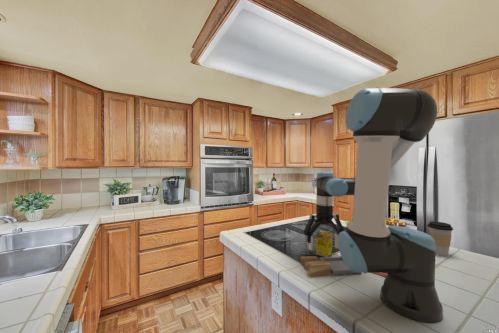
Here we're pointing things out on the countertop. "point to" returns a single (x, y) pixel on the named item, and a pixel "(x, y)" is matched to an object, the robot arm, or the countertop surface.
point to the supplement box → (324, 244)
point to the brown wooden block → (308, 260)
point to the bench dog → (319, 268)
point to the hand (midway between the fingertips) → (323, 248)
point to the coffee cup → (441, 237)
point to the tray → (338, 266)
